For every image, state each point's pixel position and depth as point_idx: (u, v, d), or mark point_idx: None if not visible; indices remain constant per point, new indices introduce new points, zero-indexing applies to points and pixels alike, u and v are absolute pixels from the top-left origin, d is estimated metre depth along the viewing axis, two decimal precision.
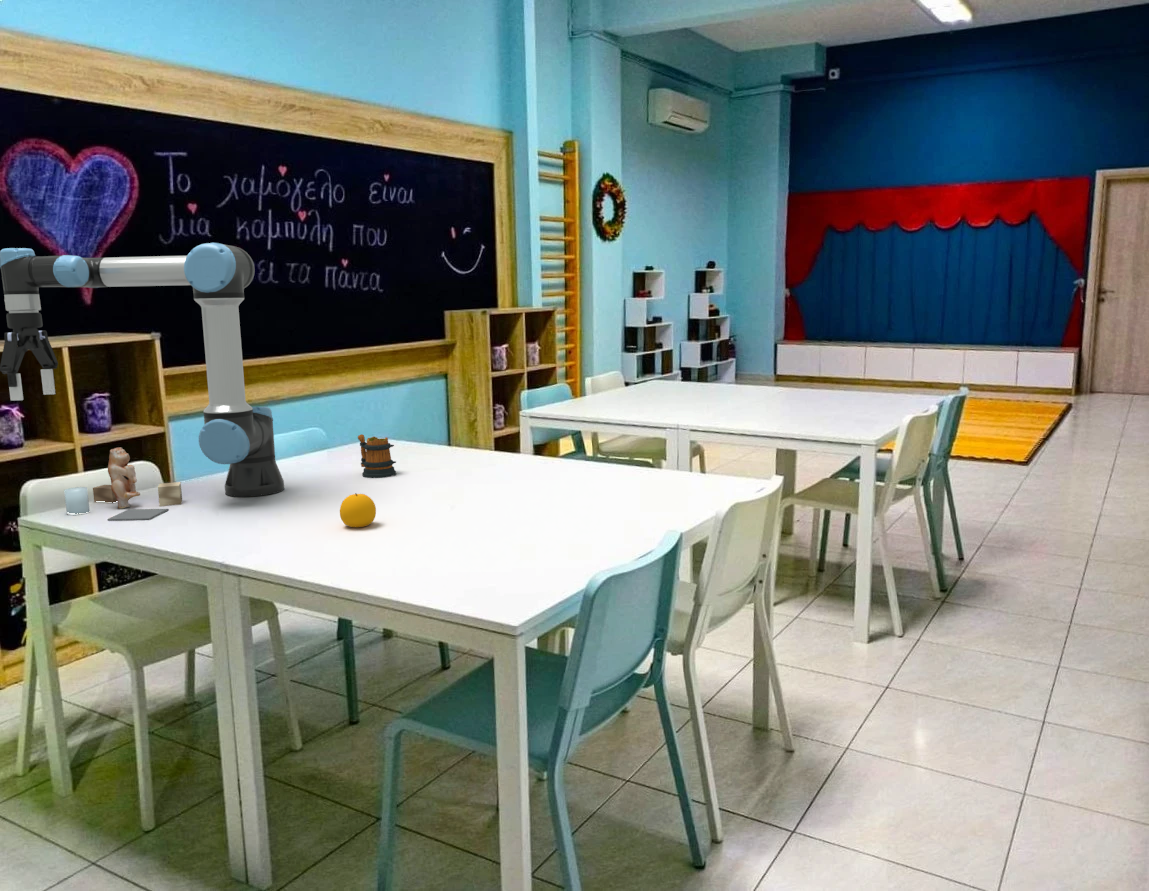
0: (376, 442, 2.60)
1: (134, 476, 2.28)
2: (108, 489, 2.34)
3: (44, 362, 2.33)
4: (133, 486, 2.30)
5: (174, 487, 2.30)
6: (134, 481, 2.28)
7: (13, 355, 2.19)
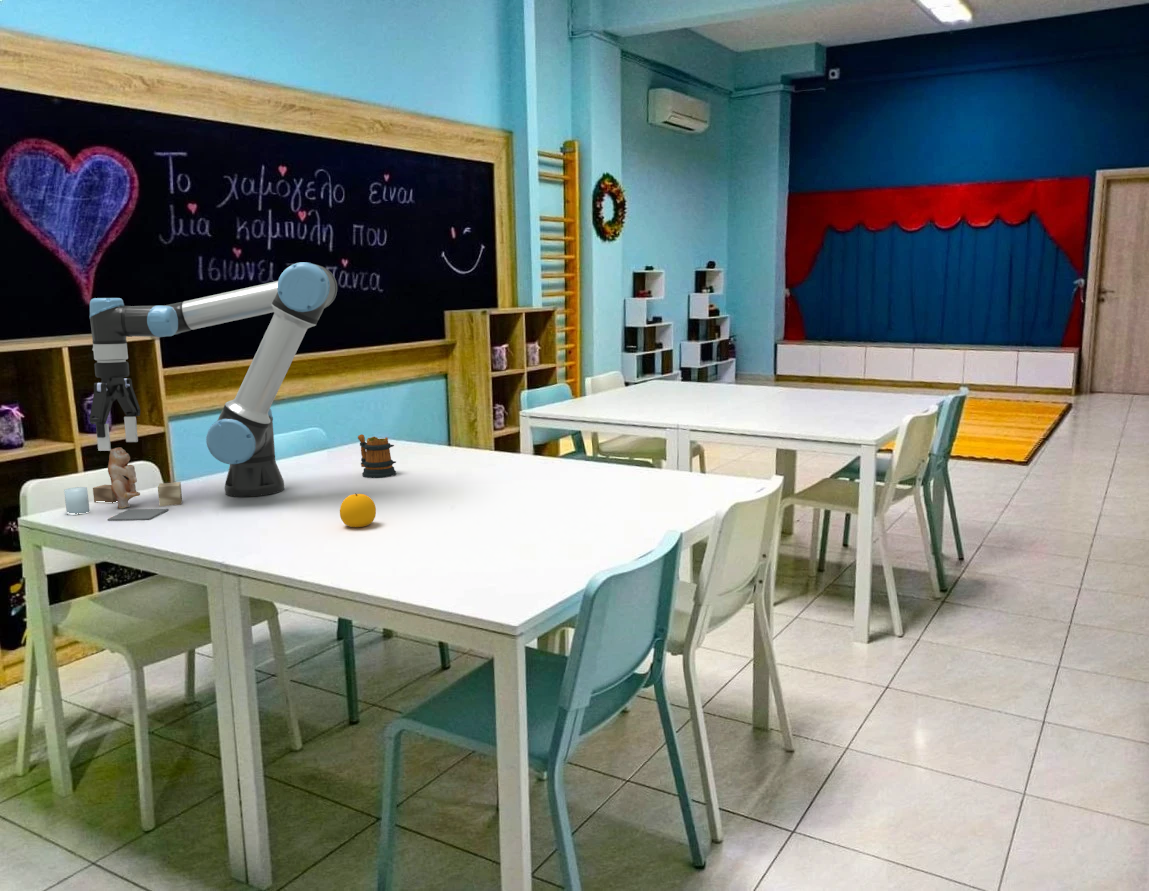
0: (376, 442, 2.60)
1: (134, 476, 2.28)
2: (108, 489, 2.34)
3: (128, 410, 2.32)
4: (133, 486, 2.30)
5: (174, 487, 2.30)
6: (134, 481, 2.28)
7: (103, 405, 2.18)
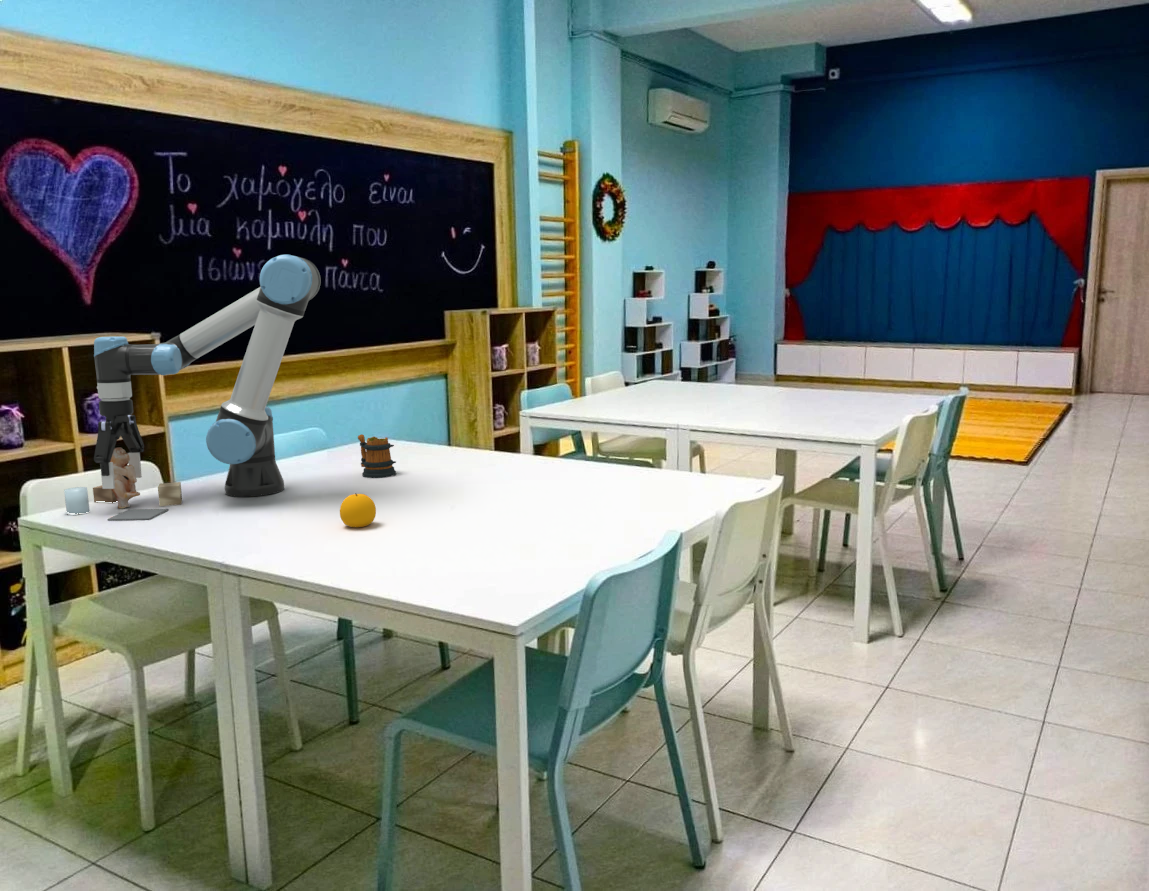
0: (376, 442, 2.60)
1: (134, 476, 2.28)
2: (108, 489, 2.34)
3: (132, 446, 2.34)
4: (133, 486, 2.30)
5: (174, 487, 2.30)
6: (134, 481, 2.28)
7: (107, 444, 2.19)
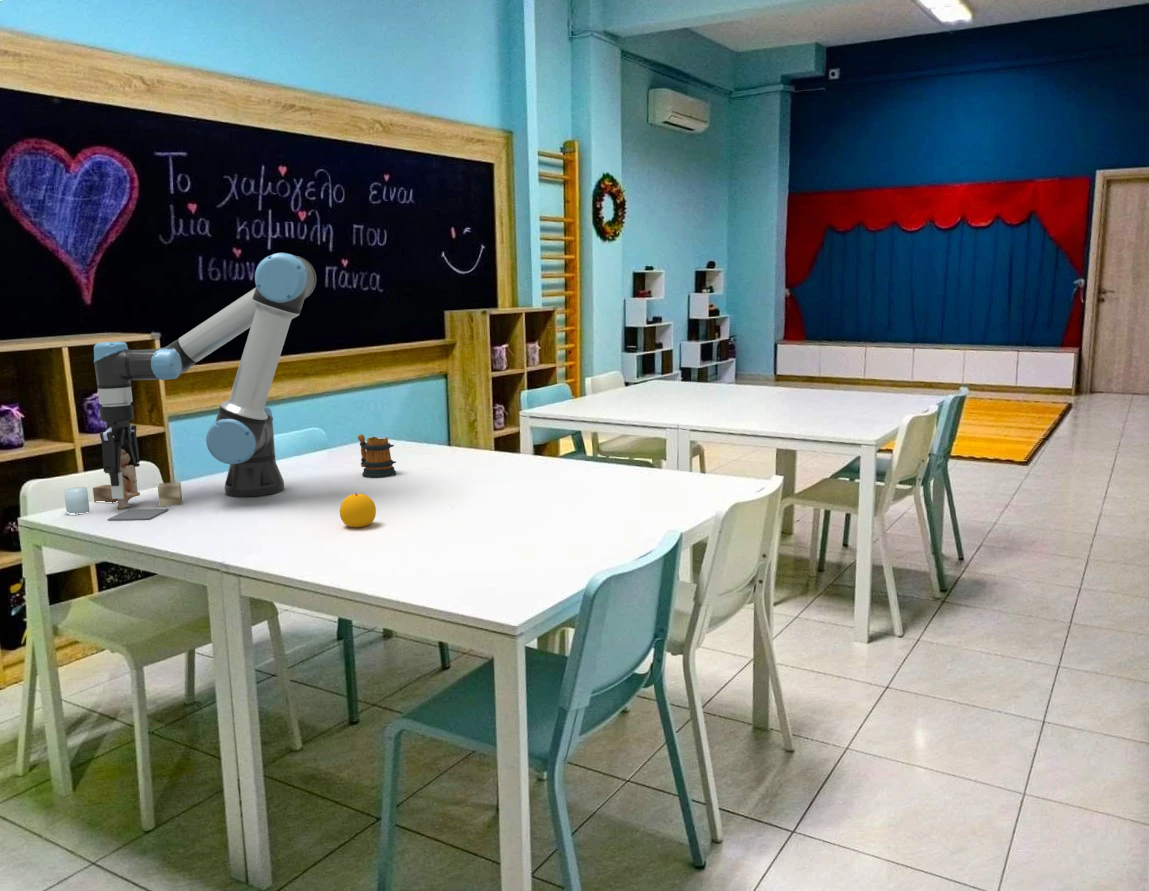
0: (376, 442, 2.60)
1: (134, 476, 2.28)
2: (108, 489, 2.34)
3: None
4: (133, 486, 2.30)
5: (174, 487, 2.30)
6: (134, 481, 2.28)
7: (113, 454, 2.22)
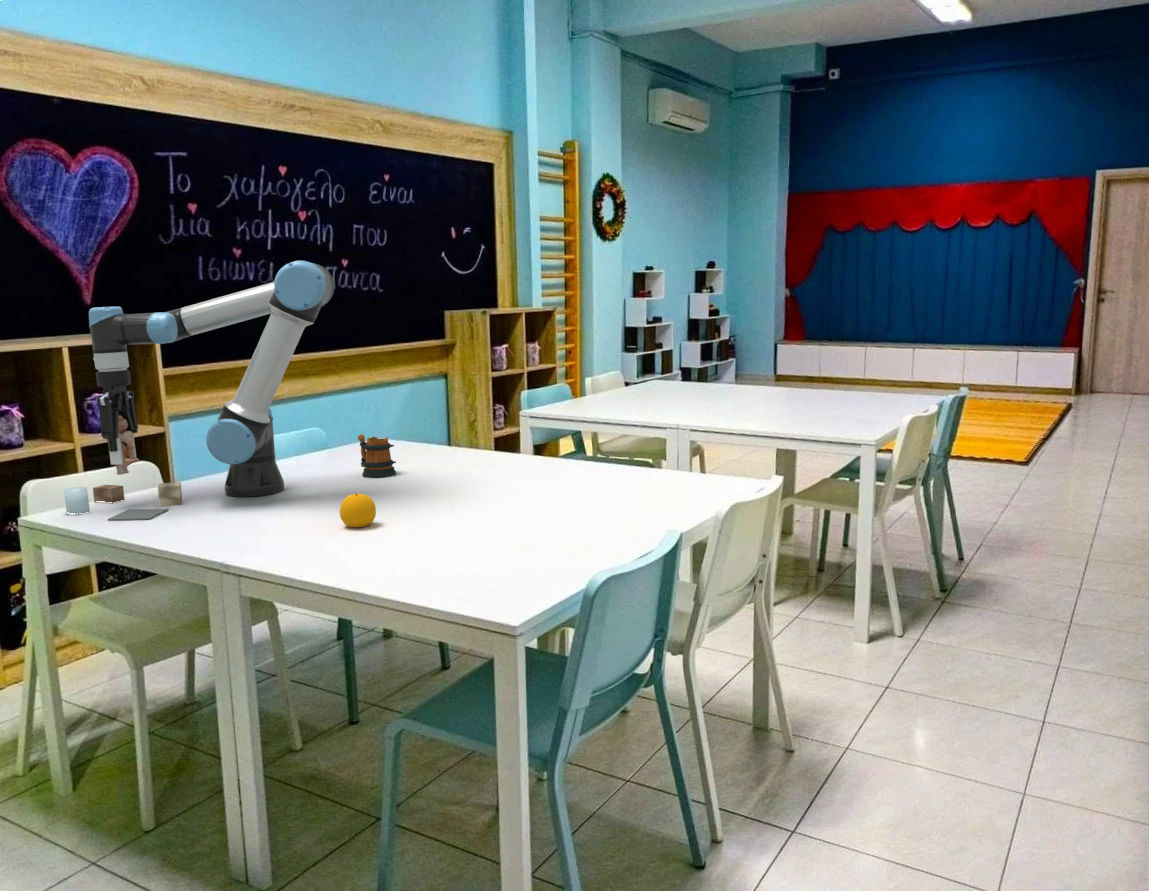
0: (376, 442, 2.60)
1: (132, 442, 2.27)
2: (107, 489, 2.34)
3: None
4: (132, 452, 2.29)
5: (174, 487, 2.30)
6: (132, 447, 2.27)
7: (111, 419, 2.21)
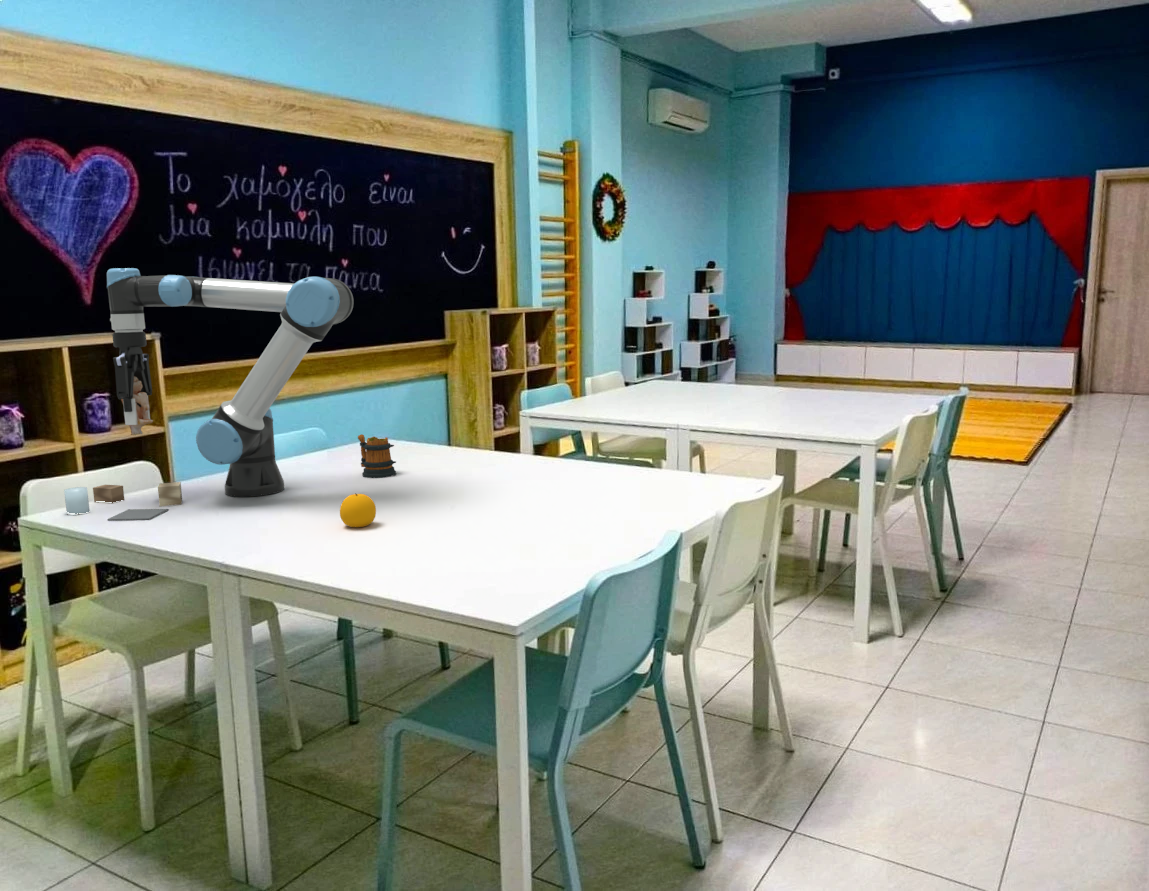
0: (376, 442, 2.60)
1: (147, 403, 2.29)
2: (107, 489, 2.34)
3: None
4: (146, 414, 2.31)
5: (174, 487, 2.30)
6: (147, 408, 2.29)
7: (126, 380, 2.23)
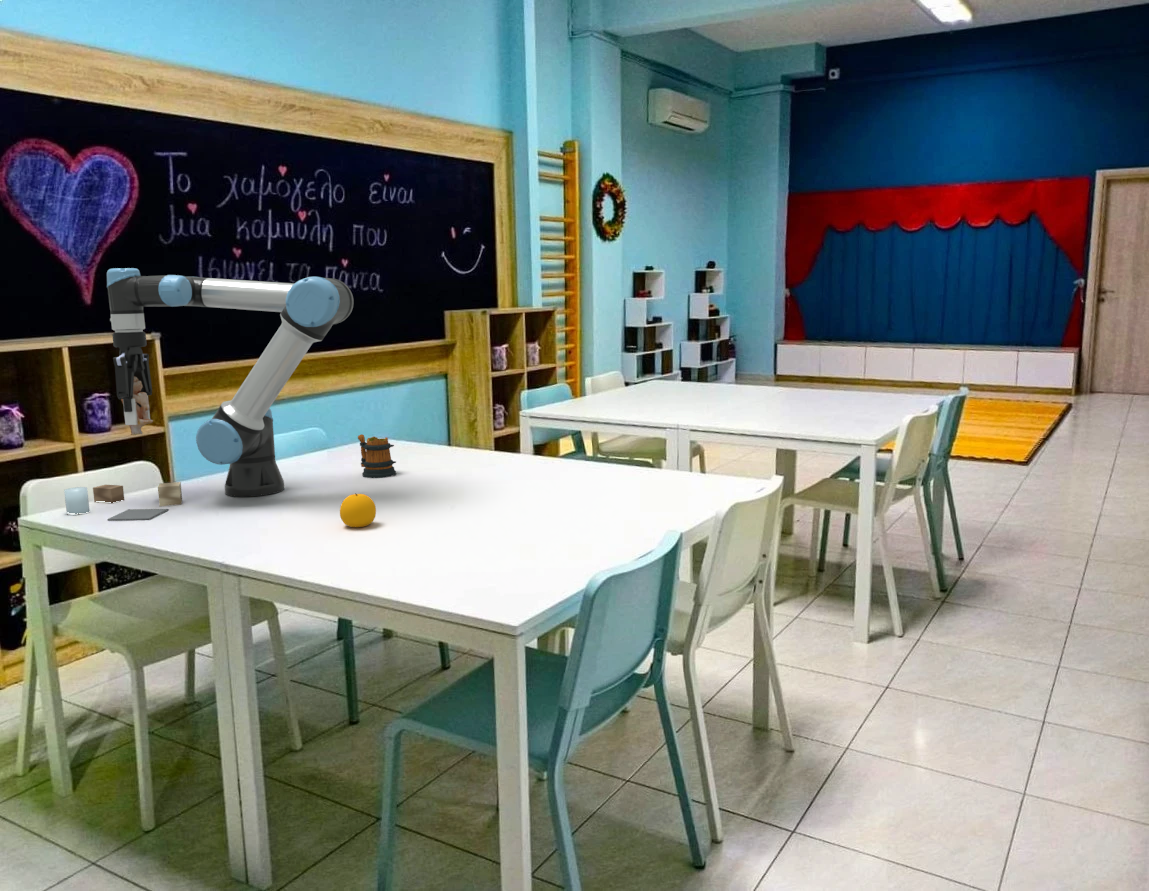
0: (376, 442, 2.60)
1: (147, 403, 2.29)
2: (107, 489, 2.34)
3: None
4: (146, 414, 2.31)
5: (174, 487, 2.30)
6: (147, 408, 2.29)
7: (126, 380, 2.23)
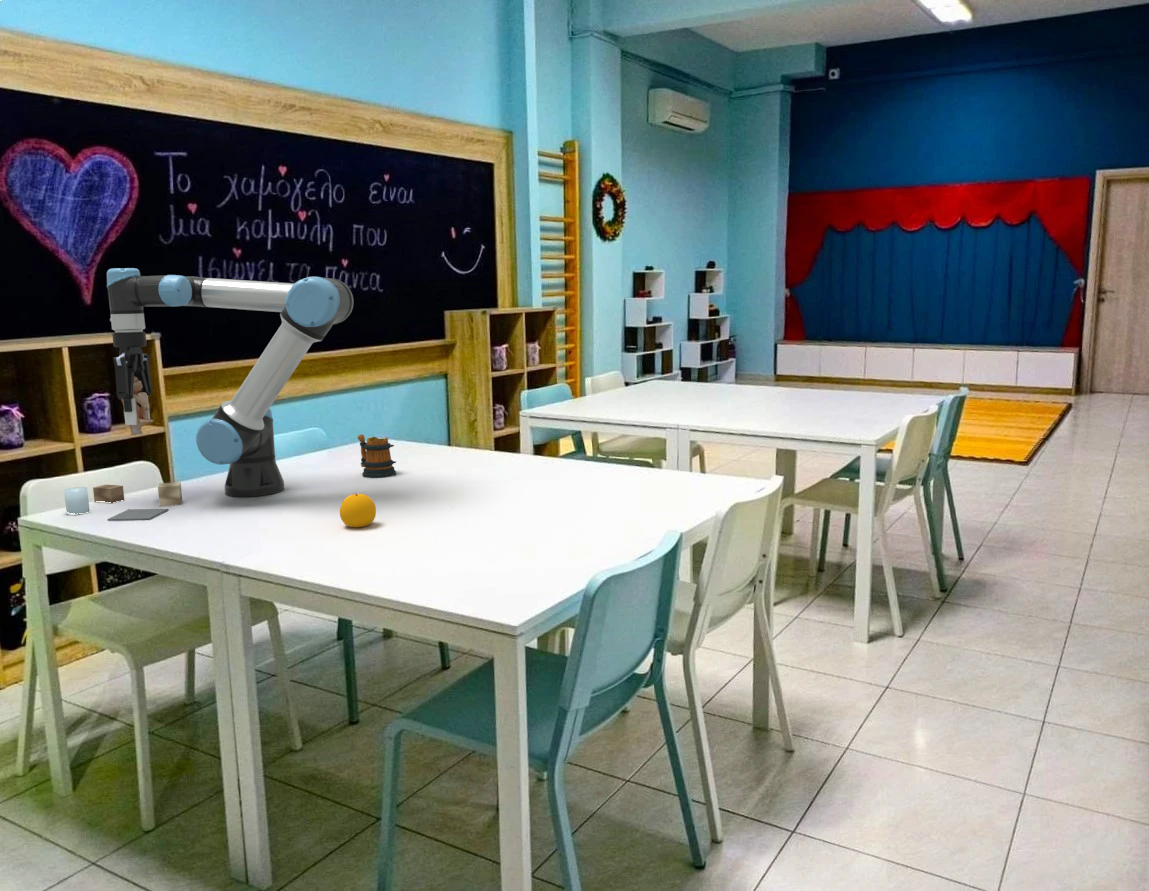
0: (376, 442, 2.60)
1: (147, 403, 2.29)
2: (107, 489, 2.34)
3: None
4: (146, 414, 2.31)
5: (174, 487, 2.30)
6: (147, 408, 2.29)
7: (126, 380, 2.23)
